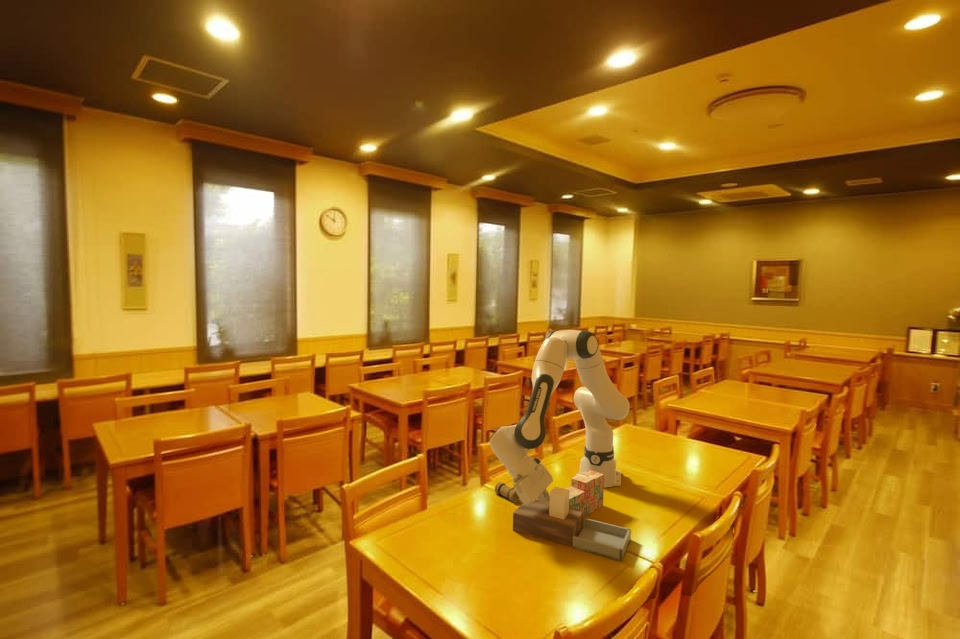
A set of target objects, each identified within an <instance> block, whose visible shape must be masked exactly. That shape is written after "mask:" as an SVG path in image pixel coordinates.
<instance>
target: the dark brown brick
mask: <svg viewBox="0 0 960 639" xmlns="http://www.w3.org/2000/svg"><path fill="white" fill-rule="evenodd" d="M582 528H584V517H583V511H582V510H577V509H573V508H569V513H568V515H567V516H566V517H565V519H564V520H563V519H560V518H556V517H552V516H549V507H548V508H547V507H546V506H545V505H544V504H543V503H541V502H540V501H538V499H536V500H535V501H534V502H533V503H532V504H531V505H529V506H526V505H524V504H523V502H522V503H521V504H520V505H519V506H518V507H517V508H516V510H514V512H513V513H512V531H514V532H517V533H521V534H524V535H528V536H532V537H536V538H538V539H541V540H542V539H543V540H546V541H550V542H554V543H557V544H560V545H564V546H568V547H571V548H573V536H576V537H578V536H579V534H580V532H581V531H582Z"/></svg>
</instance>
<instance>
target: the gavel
mask: <svg viewBox="0 0 960 639" xmlns="http://www.w3.org/2000/svg"><path fill="white" fill-rule="evenodd" d="M494 492H495V494H497V495H499V494H501V495H500V496H503V497H505V498H507V499H508V500H509V501H511V502H512V503H516V502H515V501H517V502H519V500H521V499H520V498H519V496H518V495H517V493H516V491H515V487H514V486H513V487H510V486H508V485H506V483H503V482H501V481H499V482H497V483H496V485H495V486H494Z"/></svg>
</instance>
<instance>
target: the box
mask: <svg viewBox="0 0 960 639" xmlns="http://www.w3.org/2000/svg"><path fill="white" fill-rule="evenodd" d="M631 535H632V528H629V527H628V528H627V527H624V526H620V525H617V524H612V523H607V522H603V521H600V520H599V521H598V520H595V519H591V518H587V517H585V518H583V529H582V530H581V532H580V533H579V535H578V537H576V536H573V545H572V549H575V550H578V551H582V552H587V553H590V554H592V555H593V554H594V555H597V556H600V557H604V558H607V559H611V560H615V561H618V562H623V560H624V558H623V557H625V555H626V552H627V550H628V547H629V544H630V542H631Z"/></svg>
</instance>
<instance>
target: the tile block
mask: <svg viewBox="0 0 960 639" xmlns="http://www.w3.org/2000/svg"><path fill="white" fill-rule="evenodd" d="M549 496H550V506H549V516H552V517H556V518H560V519H563V520H564V519H565V517H566V516H567V515H568V513H569V490H568V489H566V488H563V487H559V486H554V487H553V488H552V489H551V490H550V492H549Z"/></svg>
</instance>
